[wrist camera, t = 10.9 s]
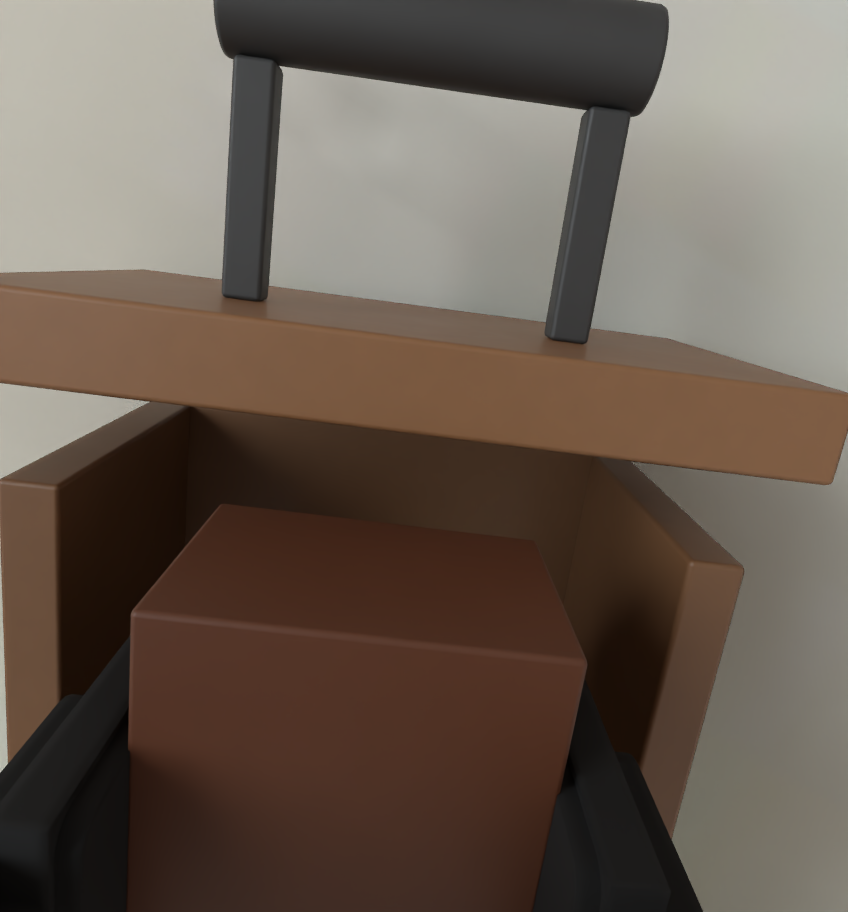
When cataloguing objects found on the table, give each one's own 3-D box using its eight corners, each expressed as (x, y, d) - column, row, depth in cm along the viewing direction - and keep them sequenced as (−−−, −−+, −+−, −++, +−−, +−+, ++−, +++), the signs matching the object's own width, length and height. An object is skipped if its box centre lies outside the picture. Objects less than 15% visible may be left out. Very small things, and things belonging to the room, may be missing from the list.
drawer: (146, 18, 13) (-112, -213, 7) (722, 103, 14) (991, -39, 7) (130, 799, 18) (-33, 1099, 12) (559, 842, 19) (634, 1154, 12)
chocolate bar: (219, 501, 9) (127, 610, 6) (536, 538, 9) (591, 662, 6) (198, 870, 11) (117, 1096, 8) (471, 897, 11) (490, 1125, 8)
